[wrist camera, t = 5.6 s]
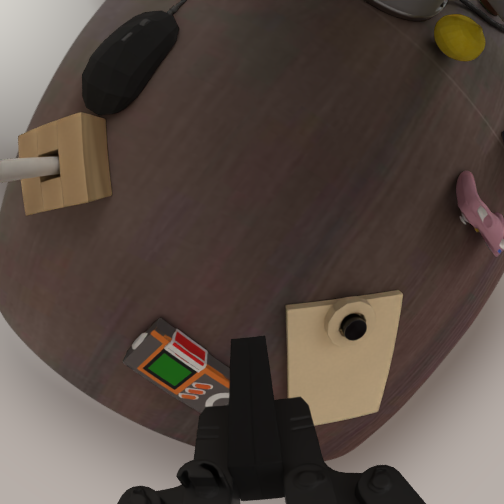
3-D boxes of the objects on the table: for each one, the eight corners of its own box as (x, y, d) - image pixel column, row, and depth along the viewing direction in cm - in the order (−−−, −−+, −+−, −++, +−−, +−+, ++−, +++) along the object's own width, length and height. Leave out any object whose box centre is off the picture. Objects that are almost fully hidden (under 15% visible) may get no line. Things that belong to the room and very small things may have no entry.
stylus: (82, 154, 24) (-42, 161, 9) (83, 170, 24) (-40, 189, 9) (69, 157, 24) (-54, 169, 9) (71, 173, 24) (-52, 195, 9)
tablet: (399, 284, 29) (410, 293, 27) (375, 406, 35) (381, 418, 33) (285, 299, 29) (289, 310, 27) (287, 423, 35) (289, 436, 32)
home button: (363, 312, 28) (368, 318, 26) (361, 331, 28) (365, 338, 27) (341, 315, 28) (345, 322, 26) (339, 335, 28) (343, 342, 27)
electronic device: (222, 426, 31) (118, 362, 27) (222, 410, 34) (125, 346, 30) (262, 401, 30) (153, 327, 26) (259, 384, 33) (159, 311, 29)
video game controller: (439, 190, 28) (460, 224, 23) (463, 164, 25) (491, 193, 20) (478, 235, 30) (497, 270, 25) (500, 213, 27) (524, 247, 22)
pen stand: (105, 118, 23) (81, 111, 18) (112, 195, 25) (88, 202, 21) (46, 137, 23) (17, 135, 18) (53, 206, 25) (25, 215, 20)
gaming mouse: (212, 8, 20) (209, -12, 17) (119, 126, 23) (101, 121, 20) (164, -12, 19) (155, -31, 15) (76, 100, 22) (55, 93, 18)
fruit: (427, 62, 22) (472, 45, 15) (416, 21, 21) (454, -3, 13) (460, 70, 22) (505, 59, 15) (450, 31, 21) (489, 13, 13)
